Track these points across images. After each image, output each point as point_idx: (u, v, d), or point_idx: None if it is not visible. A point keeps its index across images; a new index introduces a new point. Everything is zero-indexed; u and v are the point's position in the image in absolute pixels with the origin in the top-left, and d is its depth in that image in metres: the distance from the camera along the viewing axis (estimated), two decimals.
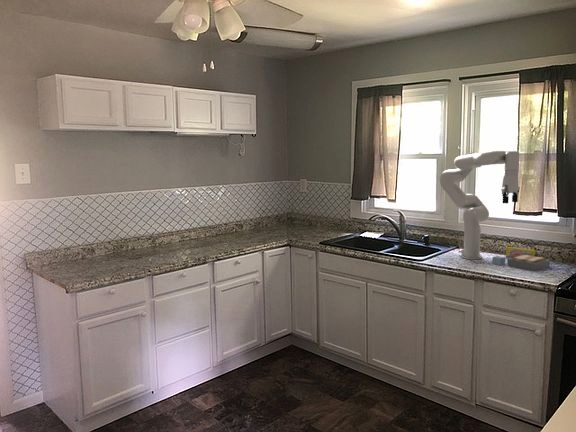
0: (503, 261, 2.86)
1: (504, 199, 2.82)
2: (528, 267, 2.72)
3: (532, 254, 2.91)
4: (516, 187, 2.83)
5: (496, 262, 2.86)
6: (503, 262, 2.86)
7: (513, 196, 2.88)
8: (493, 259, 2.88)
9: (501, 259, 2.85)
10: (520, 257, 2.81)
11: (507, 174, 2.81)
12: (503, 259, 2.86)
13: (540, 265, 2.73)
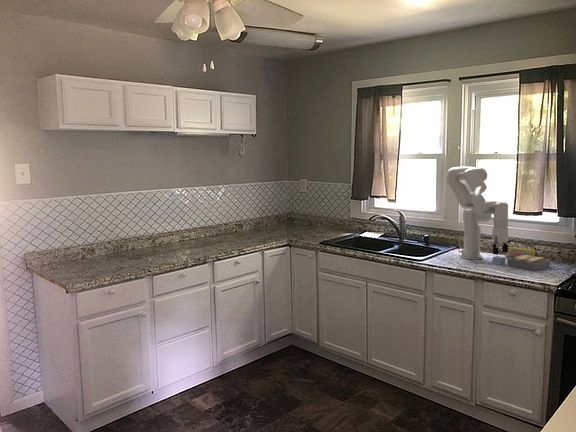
0: (503, 261, 2.86)
1: (494, 250, 2.83)
2: (528, 267, 2.72)
3: (532, 254, 2.91)
4: (506, 238, 2.85)
5: (496, 262, 2.86)
6: (503, 262, 2.86)
7: (503, 246, 2.89)
8: (493, 259, 2.88)
9: (501, 259, 2.85)
10: (520, 257, 2.81)
11: (496, 225, 2.83)
12: (503, 259, 2.86)
13: (540, 265, 2.73)
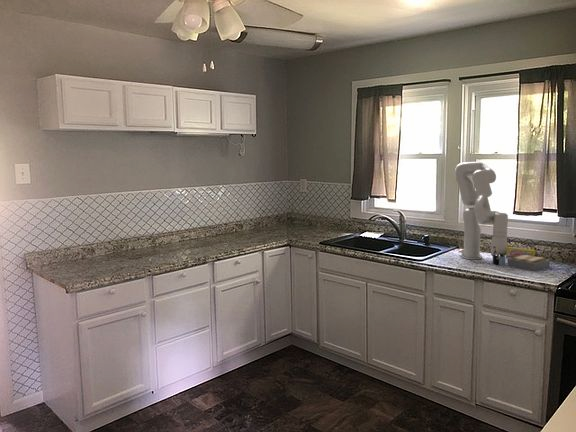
0: (503, 261, 2.86)
1: (494, 262, 2.86)
2: (528, 267, 2.72)
3: (532, 254, 2.91)
4: (504, 248, 2.86)
5: None
6: (503, 262, 2.86)
7: None
8: None
9: (501, 259, 2.85)
10: (520, 257, 2.81)
11: (495, 236, 2.84)
12: (503, 259, 2.86)
13: (540, 265, 2.73)
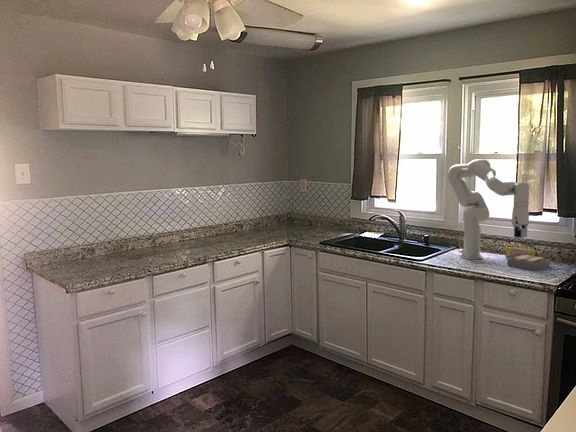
0: (525, 232, 2.78)
1: (516, 233, 2.78)
2: (528, 267, 2.72)
3: (532, 254, 2.91)
4: (526, 219, 2.78)
5: None
6: (525, 233, 2.79)
7: None
8: None
9: (523, 230, 2.77)
10: (520, 257, 2.81)
11: (517, 206, 2.77)
12: (525, 230, 2.78)
13: (540, 265, 2.73)
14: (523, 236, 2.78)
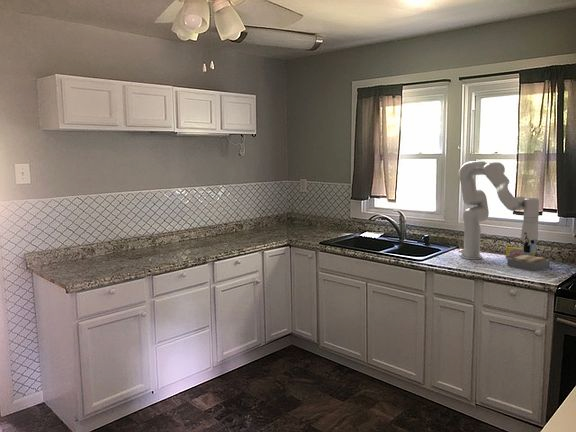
0: (534, 247, 2.77)
1: (525, 248, 2.77)
2: (528, 267, 2.72)
3: (532, 254, 2.91)
4: (536, 234, 2.77)
5: None
6: (534, 248, 2.78)
7: None
8: None
9: (532, 245, 2.76)
10: (520, 257, 2.81)
11: (526, 221, 2.75)
12: (534, 245, 2.77)
13: (540, 265, 2.73)
14: (532, 251, 2.77)
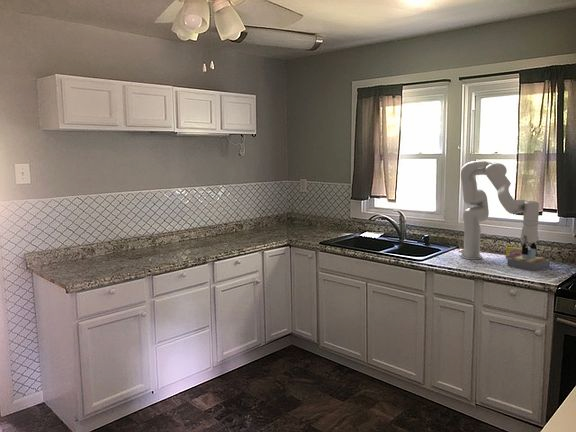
0: (534, 253, 2.78)
1: (523, 250, 2.76)
2: (528, 267, 2.72)
3: None
4: (535, 237, 2.78)
5: None
6: (534, 254, 2.78)
7: (531, 246, 2.82)
8: None
9: (532, 251, 2.77)
10: (520, 257, 2.81)
11: (526, 224, 2.76)
12: (534, 251, 2.78)
13: (540, 265, 2.73)
14: (532, 257, 2.77)
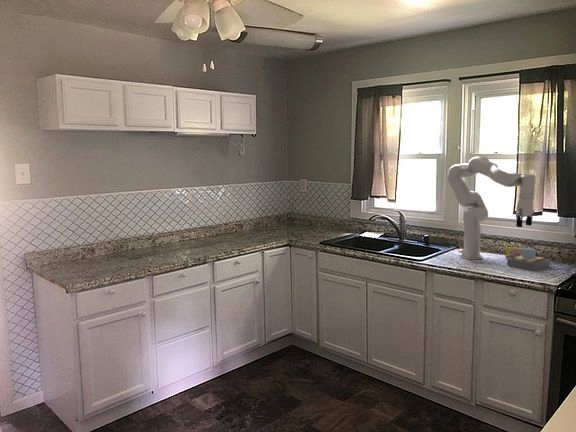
0: (534, 253, 2.78)
1: (518, 223, 2.78)
2: (528, 267, 2.72)
3: None
4: (530, 211, 2.80)
5: (527, 254, 2.78)
6: (534, 254, 2.78)
7: (527, 219, 2.84)
8: (523, 251, 2.80)
9: (532, 251, 2.77)
10: (520, 257, 2.81)
11: (522, 198, 2.77)
12: (534, 251, 2.78)
13: (540, 265, 2.73)
14: (532, 257, 2.77)
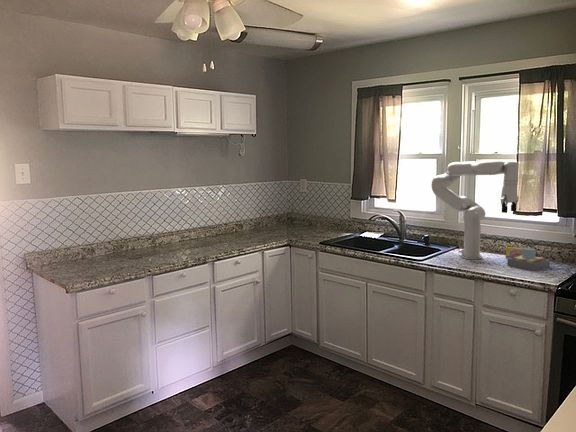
0: (534, 253, 2.78)
1: (503, 208, 2.89)
2: (528, 267, 2.72)
3: None
4: (515, 197, 2.91)
5: (527, 254, 2.78)
6: (534, 254, 2.78)
7: (512, 205, 2.95)
8: (523, 251, 2.80)
9: (532, 251, 2.77)
10: (520, 257, 2.81)
11: (506, 184, 2.88)
12: (534, 251, 2.78)
13: (540, 265, 2.73)
14: (532, 257, 2.77)
